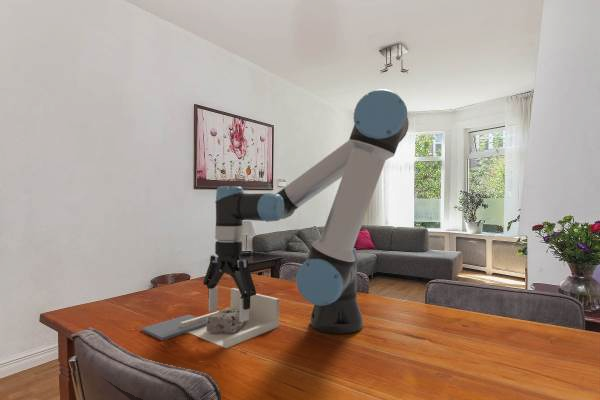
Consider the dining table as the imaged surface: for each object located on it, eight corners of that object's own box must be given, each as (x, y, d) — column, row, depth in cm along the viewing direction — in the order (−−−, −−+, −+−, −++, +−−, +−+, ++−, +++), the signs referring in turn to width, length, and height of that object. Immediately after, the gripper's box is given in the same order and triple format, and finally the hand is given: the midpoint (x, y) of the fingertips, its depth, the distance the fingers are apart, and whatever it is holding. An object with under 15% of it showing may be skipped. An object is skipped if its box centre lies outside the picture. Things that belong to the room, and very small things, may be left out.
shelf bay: (279, 327, 101) (279, 298, 101) (226, 349, 86) (226, 315, 86) (233, 313, 113) (233, 287, 113) (180, 330, 98) (180, 301, 98)
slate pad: (210, 324, 102) (210, 322, 102) (162, 340, 90) (162, 337, 90) (188, 316, 109) (188, 314, 109) (141, 330, 97) (141, 327, 97)
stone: (224, 307, 108) (253, 307, 104) (224, 327, 106) (253, 328, 103) (198, 312, 96) (229, 312, 92) (197, 334, 94) (229, 335, 91)
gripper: (269, 243, 94) (268, 321, 94) (212, 236, 110) (211, 303, 110) (249, 245, 88) (248, 329, 88) (191, 238, 104) (191, 309, 104)
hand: (228, 315), depth 99 cm, fingers open, 13 cm apart
